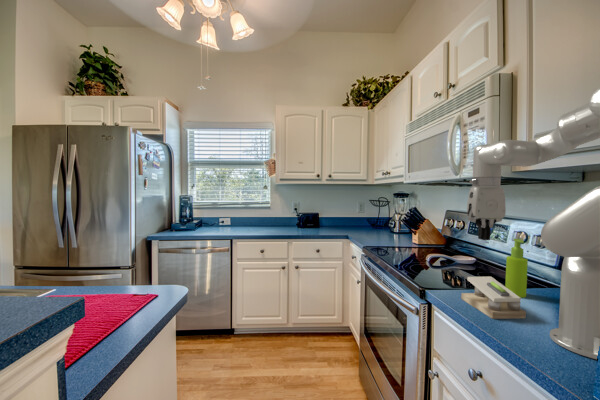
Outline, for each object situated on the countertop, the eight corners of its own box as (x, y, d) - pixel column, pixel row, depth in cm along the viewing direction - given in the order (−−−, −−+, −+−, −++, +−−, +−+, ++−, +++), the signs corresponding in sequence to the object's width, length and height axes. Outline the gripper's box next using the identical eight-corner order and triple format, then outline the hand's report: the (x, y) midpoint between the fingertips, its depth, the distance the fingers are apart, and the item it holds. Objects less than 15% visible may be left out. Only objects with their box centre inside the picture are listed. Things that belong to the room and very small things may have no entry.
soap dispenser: (507, 296, 94) (509, 239, 93) (503, 290, 100) (505, 236, 99) (529, 300, 91) (531, 241, 90) (523, 293, 97) (526, 238, 97)
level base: (525, 318, 78) (526, 303, 78) (492, 318, 78) (493, 303, 78) (489, 298, 92) (490, 285, 92) (461, 298, 92) (461, 286, 91)
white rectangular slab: (520, 301, 79) (522, 293, 78) (493, 301, 79) (495, 293, 78) (490, 279, 91) (491, 272, 90) (467, 279, 90) (468, 272, 89)
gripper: (471, 182, 83) (469, 241, 84) (518, 183, 84) (515, 241, 85) (456, 183, 91) (454, 237, 91) (499, 183, 91) (497, 237, 92)
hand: (483, 239), depth 88 cm, fingers closed
